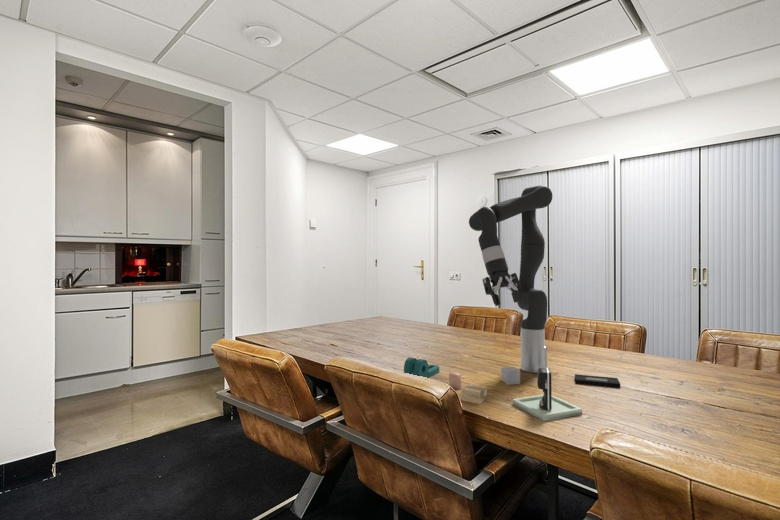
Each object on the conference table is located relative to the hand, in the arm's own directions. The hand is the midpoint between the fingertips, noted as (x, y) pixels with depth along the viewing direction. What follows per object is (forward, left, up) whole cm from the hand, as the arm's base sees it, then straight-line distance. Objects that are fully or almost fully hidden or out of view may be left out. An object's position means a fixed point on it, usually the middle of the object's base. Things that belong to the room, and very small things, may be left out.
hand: (507, 303), depth 143 cm
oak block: (+17, +5, -30) cm, 35 cm away
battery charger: (+2, +20, -29) cm, 36 cm away
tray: (+1, +20, -30) cm, 36 cm away
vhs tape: (-34, +6, -31) cm, 46 cm away
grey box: (-5, -6, -30) cm, 31 cm away
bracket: (+21, -25, -30) cm, 45 cm away
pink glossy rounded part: (+17, -8, -30) cm, 35 cm away
